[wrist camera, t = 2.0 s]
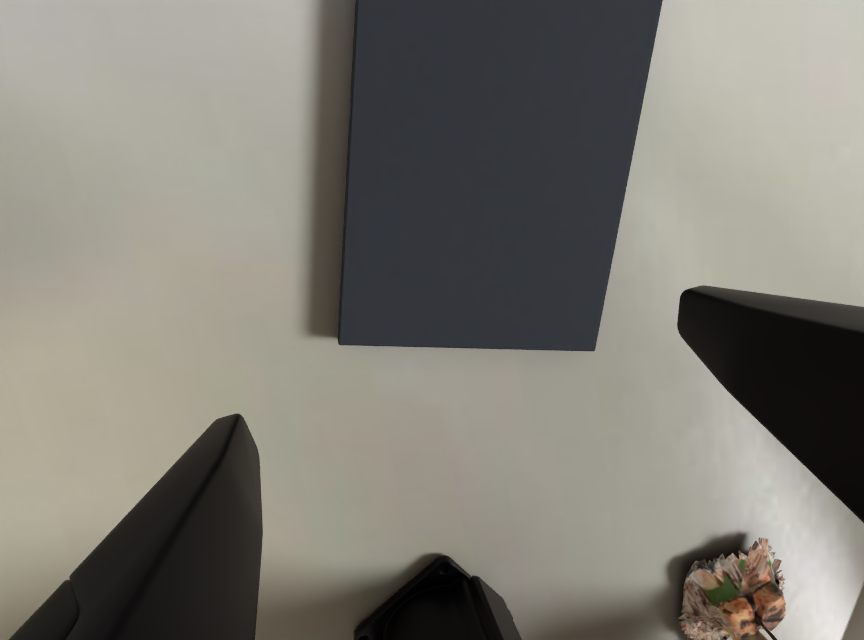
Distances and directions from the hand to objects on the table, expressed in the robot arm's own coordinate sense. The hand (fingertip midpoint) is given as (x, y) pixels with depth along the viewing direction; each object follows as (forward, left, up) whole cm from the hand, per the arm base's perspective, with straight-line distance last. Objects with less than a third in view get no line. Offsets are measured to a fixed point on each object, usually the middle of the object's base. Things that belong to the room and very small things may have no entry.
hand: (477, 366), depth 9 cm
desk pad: (+8, +3, -12) cm, 15 cm away
